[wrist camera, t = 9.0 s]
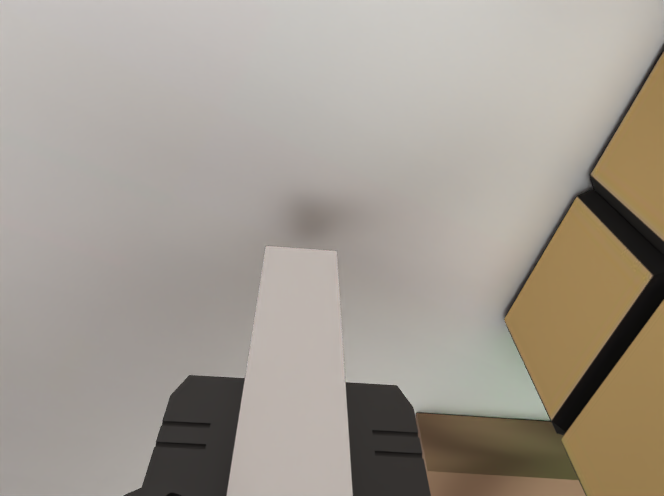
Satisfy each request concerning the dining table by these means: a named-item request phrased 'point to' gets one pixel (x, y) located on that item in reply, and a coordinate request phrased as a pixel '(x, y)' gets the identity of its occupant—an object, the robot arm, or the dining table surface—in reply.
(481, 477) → the frame
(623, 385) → the puzzle cube
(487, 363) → the dining table surface
